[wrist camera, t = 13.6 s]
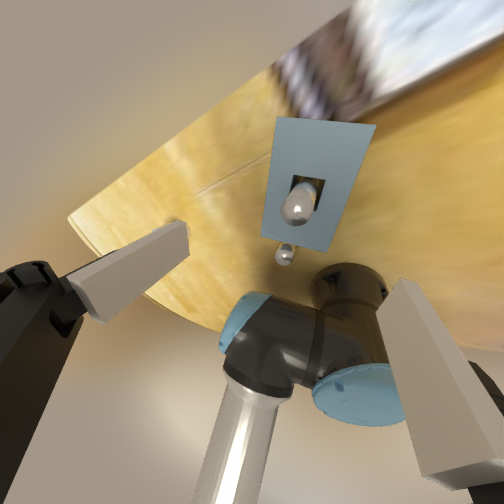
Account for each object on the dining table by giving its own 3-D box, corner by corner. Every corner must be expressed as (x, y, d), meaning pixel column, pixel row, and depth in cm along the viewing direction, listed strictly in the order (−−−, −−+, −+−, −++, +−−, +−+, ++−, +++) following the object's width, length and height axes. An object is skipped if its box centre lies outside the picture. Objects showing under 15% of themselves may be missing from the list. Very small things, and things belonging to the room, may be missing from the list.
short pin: (294, 252, 41) (290, 267, 36) (279, 248, 42) (273, 262, 37) (298, 239, 39) (294, 253, 34) (282, 235, 40) (276, 248, 35)
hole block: (326, 236, 36) (326, 253, 31) (269, 222, 39) (260, 236, 34) (366, 128, 27) (376, 125, 21) (286, 121, 29) (276, 116, 24)
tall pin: (315, 195, 33) (307, 229, 21) (296, 192, 34) (278, 222, 21) (321, 175, 32) (316, 198, 19) (301, 172, 32) (283, 192, 20)
